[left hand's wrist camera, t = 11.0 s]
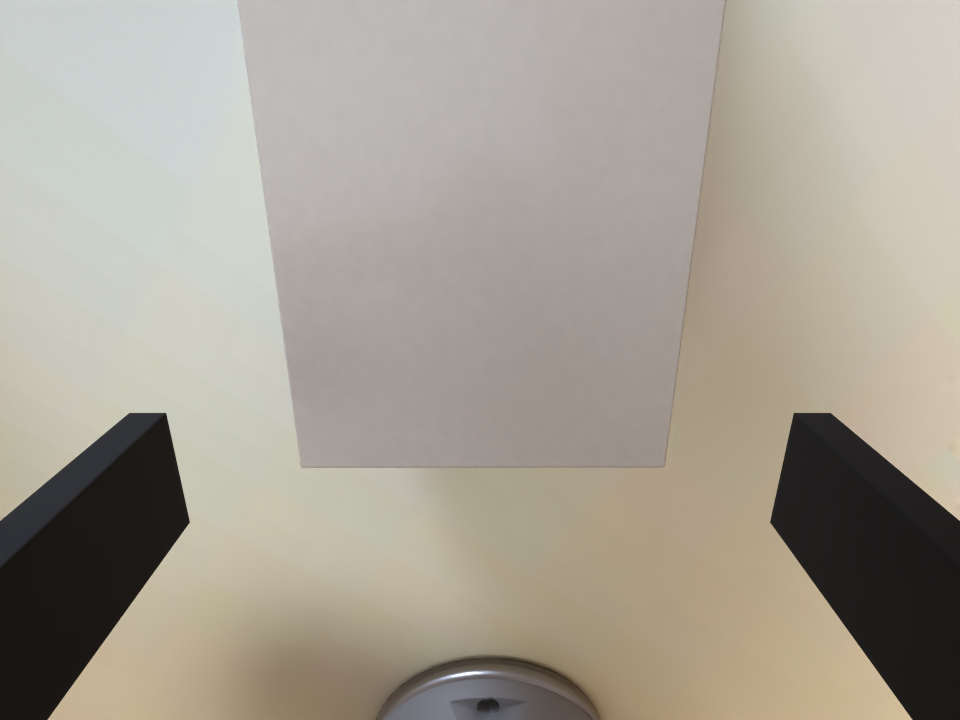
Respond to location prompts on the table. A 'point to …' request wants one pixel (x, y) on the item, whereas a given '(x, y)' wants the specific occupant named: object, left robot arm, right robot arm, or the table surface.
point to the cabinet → (482, 222)
